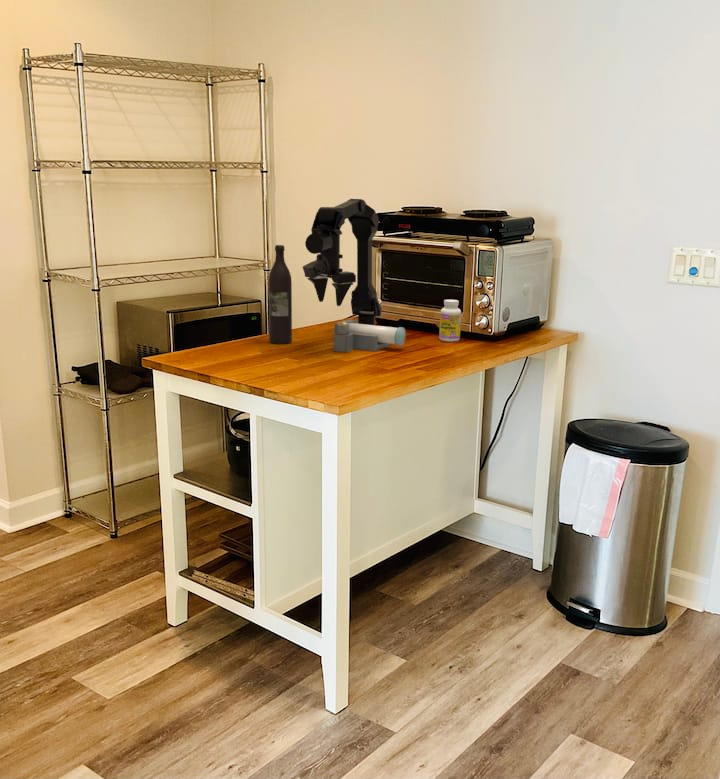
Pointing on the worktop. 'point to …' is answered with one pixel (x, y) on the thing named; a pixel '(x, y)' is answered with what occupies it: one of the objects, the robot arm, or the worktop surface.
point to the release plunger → (343, 328)
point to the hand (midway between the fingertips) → (329, 303)
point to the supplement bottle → (450, 321)
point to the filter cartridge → (380, 333)
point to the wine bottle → (280, 300)
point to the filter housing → (356, 341)
